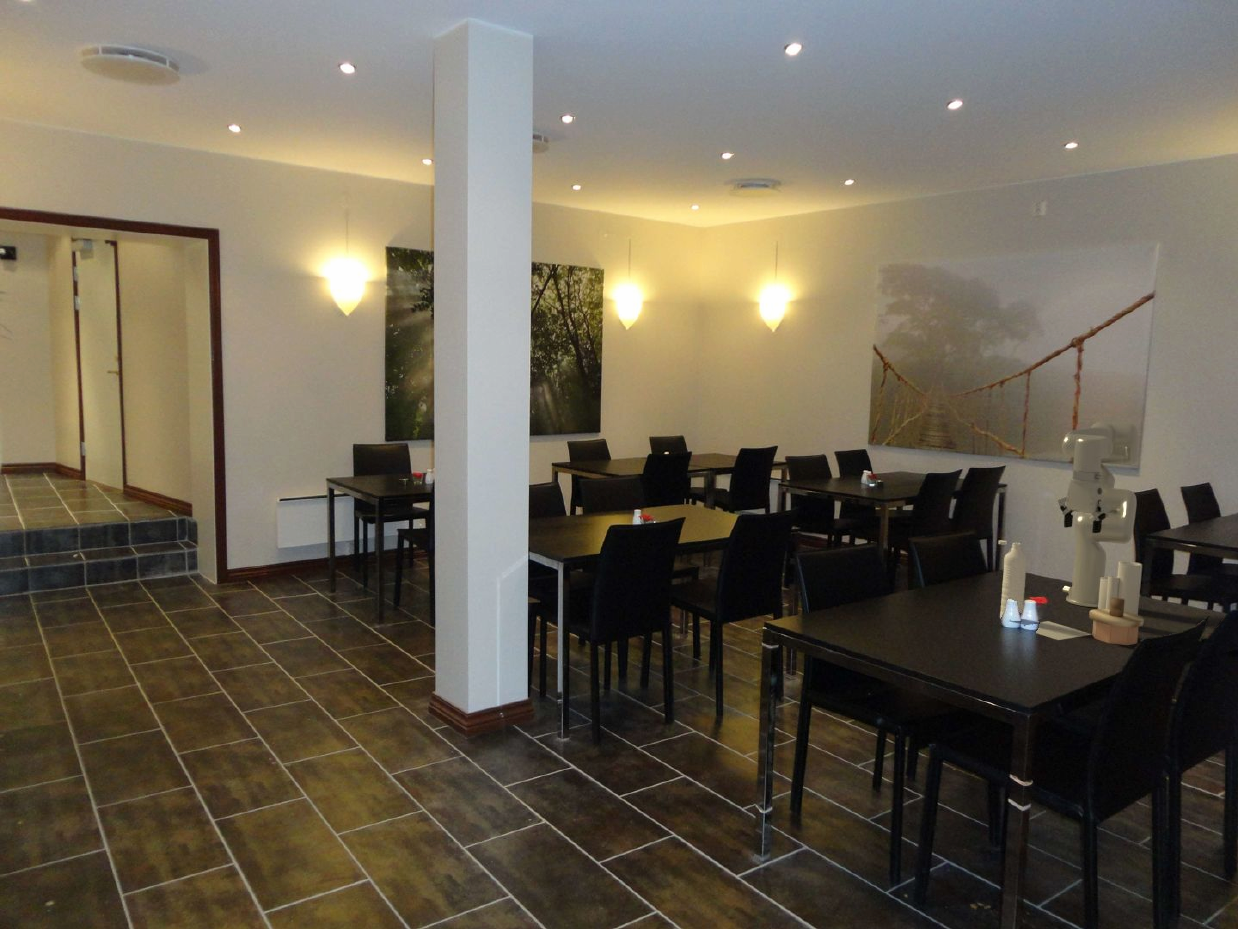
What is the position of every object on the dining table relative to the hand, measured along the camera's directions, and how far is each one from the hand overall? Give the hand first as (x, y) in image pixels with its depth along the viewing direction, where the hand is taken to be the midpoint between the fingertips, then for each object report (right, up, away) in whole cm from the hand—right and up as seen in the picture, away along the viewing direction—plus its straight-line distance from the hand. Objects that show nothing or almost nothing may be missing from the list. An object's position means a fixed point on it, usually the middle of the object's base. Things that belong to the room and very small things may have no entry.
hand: (1081, 529), depth 276 cm
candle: (+11, -30, 0) cm, 32 cm away
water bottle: (-23, -29, +3) cm, 37 cm away
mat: (-14, -30, -10) cm, 35 cm away
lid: (+1, -26, -18) cm, 31 cm away
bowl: (+1, -32, -17) cm, 36 cm away
